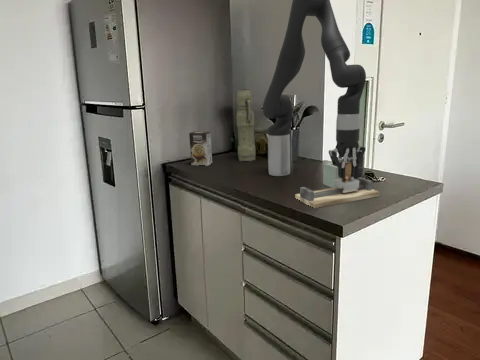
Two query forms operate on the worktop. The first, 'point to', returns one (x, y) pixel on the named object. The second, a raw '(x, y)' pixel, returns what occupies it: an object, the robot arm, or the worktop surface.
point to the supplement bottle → (359, 168)
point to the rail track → (336, 195)
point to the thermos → (245, 126)
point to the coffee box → (200, 148)
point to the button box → (330, 174)
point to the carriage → (347, 180)
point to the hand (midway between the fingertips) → (346, 177)
